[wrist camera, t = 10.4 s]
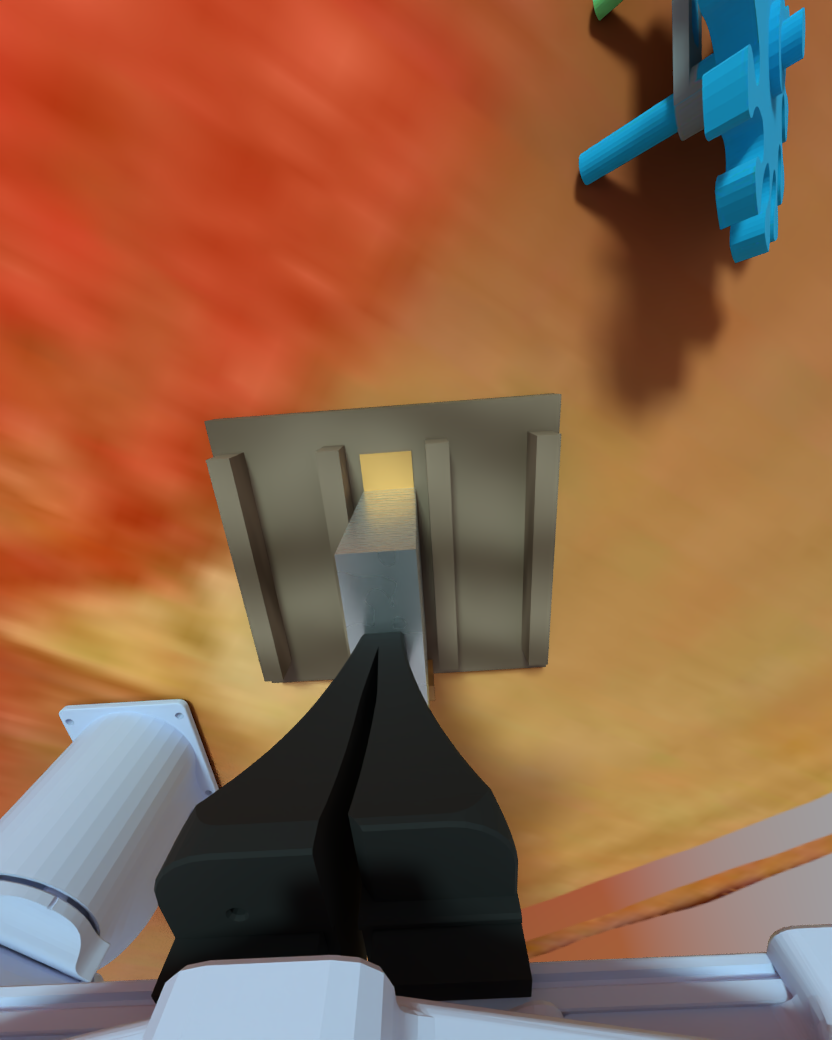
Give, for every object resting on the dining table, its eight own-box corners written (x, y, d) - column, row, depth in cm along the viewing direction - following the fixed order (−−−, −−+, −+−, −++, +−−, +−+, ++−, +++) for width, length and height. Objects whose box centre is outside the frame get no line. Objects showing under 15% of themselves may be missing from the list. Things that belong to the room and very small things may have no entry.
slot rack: (540, 654, 23) (557, 693, 20) (277, 670, 23) (258, 711, 21) (553, 393, 18) (579, 396, 15) (215, 419, 18) (178, 426, 15)
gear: (803, 267, 15) (779, 188, 8) (633, 319, 19) (529, 294, 12) (821, -110, 12) (809, -645, 6) (623, 47, 17) (489, -159, 10)
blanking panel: (426, 627, 21) (431, 741, 14) (380, 630, 21) (365, 745, 14) (415, 487, 18) (415, 549, 12) (363, 491, 18) (334, 554, 12)
